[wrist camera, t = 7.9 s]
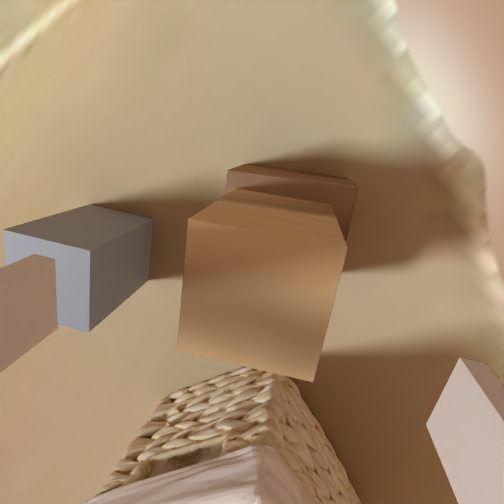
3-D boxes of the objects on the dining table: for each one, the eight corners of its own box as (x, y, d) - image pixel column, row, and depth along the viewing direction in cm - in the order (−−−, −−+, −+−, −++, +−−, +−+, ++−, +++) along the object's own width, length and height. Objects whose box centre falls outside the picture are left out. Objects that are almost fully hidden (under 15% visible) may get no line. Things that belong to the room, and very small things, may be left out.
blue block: (90, 204, 29) (2, 229, 21) (153, 218, 29) (90, 250, 20) (89, 265, 31) (9, 311, 23) (148, 279, 31) (88, 332, 22)
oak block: (236, 188, 21) (188, 218, 12) (331, 204, 20) (348, 248, 12) (225, 274, 23) (176, 350, 14) (311, 291, 22) (313, 382, 14)
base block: (244, 163, 26) (227, 170, 21) (346, 177, 25) (357, 188, 20) (234, 257, 29) (217, 285, 23) (326, 272, 28) (331, 305, 22)
